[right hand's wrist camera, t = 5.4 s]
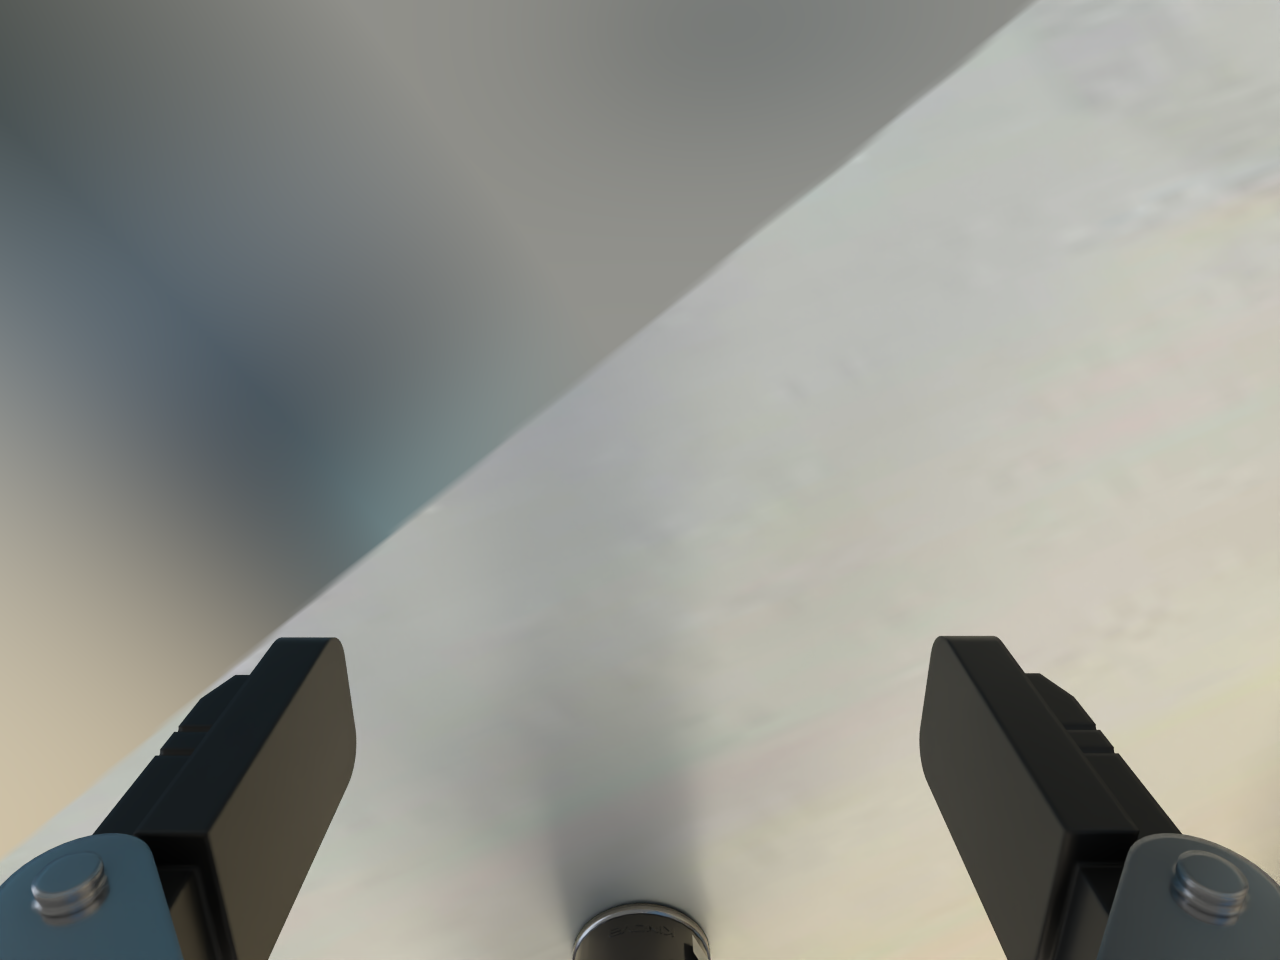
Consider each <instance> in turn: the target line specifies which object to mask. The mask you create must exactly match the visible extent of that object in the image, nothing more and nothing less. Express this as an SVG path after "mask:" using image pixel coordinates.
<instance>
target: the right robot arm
mask: <svg viewBox="0 0 1280 960" xmlns="http://www.w3.org/2000/svg"><path fill="white" fill-rule="evenodd" d="M919 741H920V756H921V762H922V767H923V771H924V775H925V778H926V780H927V783H928V785H929V787H930V789H931V791H932V794H933V796H934V798H935V800H936V802H937V805H938V807H939V809H940V811H941V814H942V816H943V818H944V820H945V822H946V825H947V827H948V829H949V831H950V833H951V836H952V838H953V840H954V842H955V845H956V847H957V849H958V851H959V853H960V856H961V858H962V860H963V862H964V864H965V867H966V869H967V871H968V873H969V875H970V878H971V880H972V882H973V884H974V887H975V889H976V891H977V893H978V895H979V898H980V900H981V902H982V904H983V906H984V909H985V911H986V913H987V915H988V918H989V920H990V922H991V924H992V926H993V929H994V931H995V933H996V935H997V937H998V940H999V942H1000V944H1001V946H1002V948H1003V951H1004V953H1005V955H1006V957H1007V960H1280V886H1279V885H1278V884H1277V883H1276V882H1275V881H1274V880H1273V879H1272V878H1271V877H1270V876H1269V875H1268V874H1267V873H1265V872H1264V871H1263V870H1262V869H1260V868H1259V867H1258V866H1257V865H1255V864H1254V863H1252V862H1251V861H1249V860H1247V859H1246V858H1244V857H1243V856H1241V855H1239V854H1237V853H1235V852H1234V851H1232V850H1230V849H1228V848H1225V847H1223V846H1221V845H1218V844H1216V843H1213V842H1210V841H1207V840H1205V839H1201V838H1197V837H1193V836H1189V835H1183V834H1182V833H1181V832H1180V831H1179V830H1178V828H1177V827H1176V826H1175V824H1174V823H1173V822H1172V821H1171V819H1170V818H1169V817H1168V816H1167V814H1166V813H1165V812H1164V810H1163V809H1162V808H1161V807H1160V805H1159V804H1158V803H1157V802H1156V800H1155V799H1154V798H1153V797H1152V795H1151V794H1150V793H1149V791H1148V790H1147V789H1146V788H1145V786H1144V785H1143V784H1142V783H1141V781H1140V780H1139V779H1138V778H1137V776H1136V775H1135V774H1134V772H1133V771H1132V770H1131V769H1130V767H1129V766H1128V765H1127V764H1126V762H1125V761H1124V760H1123V758H1122V757H1121V756H1120V755H1119V753H1114V747H1113V746H1112V745H1111V743H1110V742H1109V741H1108V739H1107V738H1106V737H1105V736H1104V734H1103V733H1102V732H1101V731H1100V730H1096V724H1095V723H1094V722H1093V720H1092V719H1091V718H1090V717H1089V715H1088V714H1087V713H1086V712H1085V710H1084V709H1083V708H1082V706H1081V705H1080V704H1079V703H1078V701H1077V700H1076V699H1075V698H1074V697H1073V696H1072V695H1070V694H1069V693H1067V692H1066V691H1065V690H1063V689H1062V688H1060V687H1059V686H1057V685H1056V684H1054V683H1053V682H1051V681H1050V680H1049V679H1047V678H1046V677H1044V676H1043V675H1041V674H1040V673H1024V671H1023V670H1022V669H1021V667H1020V666H1019V664H1018V663H1017V662H1016V660H1015V659H1014V658H1013V656H1012V655H1011V654H1010V652H1009V651H1008V649H1007V648H1006V647H1005V645H1004V644H1003V643H1002V641H1001V640H1000V639H999V638H997V637H995V636H939V637H937V638H936V640H935V641H934V644H933V647H932V651H931V657H930V664H929V671H928V678H927V685H926V692H925V699H924V706H923V713H922V720H921V726H920V739H919ZM355 755H356V730H355V723H354V716H353V709H352V702H351V696H350V689H349V682H348V675H347V668H346V661H345V655H344V650H343V646H342V644H341V642H340V641H339V639H337V638H278V639H277V640H276V641H275V642H274V643H273V644H272V646H271V647H270V648H269V650H268V651H267V652H266V654H265V655H264V656H263V658H262V659H261V660H260V662H259V663H258V665H257V666H256V667H255V669H254V670H253V671H252V673H251V674H250V675H235V676H233V677H232V678H230V679H229V680H227V681H226V682H224V683H223V684H221V685H220V686H219V687H217V688H216V689H214V690H213V691H211V692H210V693H208V694H207V695H205V696H204V697H203V698H201V699H200V700H199V701H198V703H197V704H196V705H195V706H194V708H193V709H192V710H191V712H190V713H189V714H188V715H187V717H186V718H185V719H184V720H183V722H182V723H181V724H180V725H179V730H178V732H174V733H173V734H172V735H171V737H170V738H169V739H168V740H167V742H166V743H165V744H164V745H163V747H162V748H161V749H160V755H159V756H155V757H154V758H153V759H152V761H151V762H150V763H149V764H148V766H147V767H146V768H145V769H144V771H143V772H142V773H141V774H140V776H139V777H138V778H137V779H136V781H135V782H134V783H133V784H132V786H131V787H130V788H129V789H128V791H127V792H126V793H125V794H124V796H123V797H122V798H121V799H120V801H119V802H118V803H117V805H116V806H115V807H114V808H113V810H112V811H111V812H110V813H109V815H108V816H107V817H106V818H105V820H104V821H103V822H102V823H101V825H100V826H99V827H98V828H97V830H96V831H95V832H94V833H93V835H91V836H87V837H83V838H79V839H75V840H73V841H70V842H67V843H64V844H62V845H59V846H57V847H55V848H52V849H50V850H48V851H46V852H45V853H43V854H41V855H39V856H37V857H36V858H34V859H33V860H31V861H29V862H28V863H26V864H25V865H23V866H22V867H21V868H20V869H18V870H17V871H16V872H15V873H13V874H12V875H11V876H10V877H9V878H8V879H7V880H6V881H5V882H4V883H3V884H2V885H1V886H0V960H268V958H269V956H270V954H271V952H272V950H273V948H274V945H275V943H276V941H277V939H278V937H279V934H280V932H281V930H282V928H283V926H284V923H285V921H286V919H287V917H288V915H289V913H290V910H291V908H292V906H293V904H294V902H295V899H296V897H297V895H298V893H299V891H300V889H301V886H302V884H303V882H304V880H305V878H306V875H307V873H308V871H309V869H310V867H311V864H312V862H313V860H314V858H315V856H316V854H317V851H318V849H319V847H320V845H321V843H322V840H323V838H324V836H325V834H326V832H327V829H328V827H329V825H330V823H331V821H332V819H333V816H334V814H335V812H336V810H337V808H338V805H339V803H340V801H341V799H342V797H343V795H344V792H345V790H346V788H347V786H348V784H349V781H350V779H351V775H352V772H353V768H354V762H355ZM573 960H710V950H709V944H708V941H707V938H706V936H705V934H704V933H703V931H702V930H701V928H700V927H699V926H698V925H697V924H696V923H695V922H694V921H693V920H692V919H690V918H689V917H687V916H686V915H684V914H683V913H681V912H679V911H676V910H674V909H671V908H669V907H665V906H661V905H656V904H645V903H638V904H627V905H622V906H618V907H614V908H612V909H609V910H607V911H604V912H602V913H600V914H599V915H597V916H595V917H594V918H593V919H591V920H590V921H589V922H588V923H587V924H586V925H585V926H584V927H583V928H582V930H581V931H580V933H579V934H578V936H577V938H576V941H575V944H574V949H573Z"/></svg>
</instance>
